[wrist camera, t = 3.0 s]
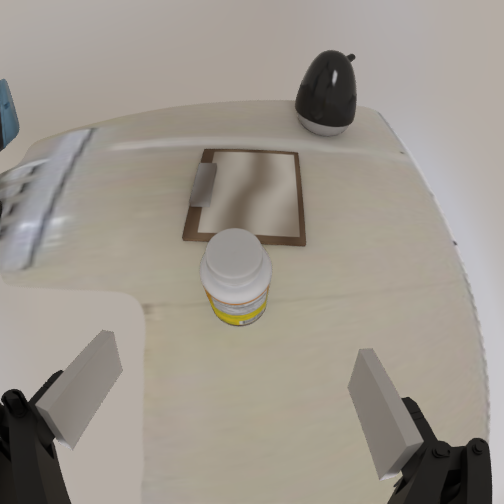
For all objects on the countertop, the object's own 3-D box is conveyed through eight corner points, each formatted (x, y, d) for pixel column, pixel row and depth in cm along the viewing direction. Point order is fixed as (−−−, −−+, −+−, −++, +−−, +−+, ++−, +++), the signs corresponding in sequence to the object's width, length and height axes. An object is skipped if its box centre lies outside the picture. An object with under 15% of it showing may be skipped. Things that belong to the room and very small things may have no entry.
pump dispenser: (360, 134, 43) (381, 62, 30) (324, 151, 39) (343, 65, 26) (319, 108, 47) (330, 40, 34) (280, 122, 43) (287, 43, 30)
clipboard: (183, 240, 31) (180, 232, 29) (204, 152, 39) (203, 143, 37) (305, 246, 31) (307, 238, 29) (297, 155, 39) (298, 147, 37)
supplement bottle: (224, 270, 29) (214, 209, 20) (273, 287, 28) (285, 231, 19) (203, 316, 26) (179, 272, 18) (255, 336, 25) (258, 301, 17)
